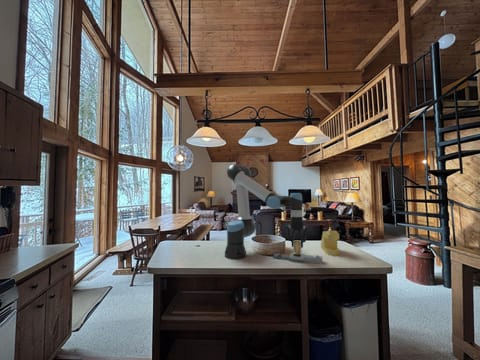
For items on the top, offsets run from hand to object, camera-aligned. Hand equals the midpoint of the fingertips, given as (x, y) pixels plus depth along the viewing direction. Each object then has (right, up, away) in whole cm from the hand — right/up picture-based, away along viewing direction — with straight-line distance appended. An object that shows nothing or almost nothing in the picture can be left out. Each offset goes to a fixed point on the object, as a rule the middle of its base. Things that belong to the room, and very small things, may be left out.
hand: (297, 252), depth 142 cm
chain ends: (0, -5, 0) cm, 5 cm away
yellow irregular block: (+29, -6, +18) cm, 35 cm away
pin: (0, -5, 0) cm, 5 cm away
